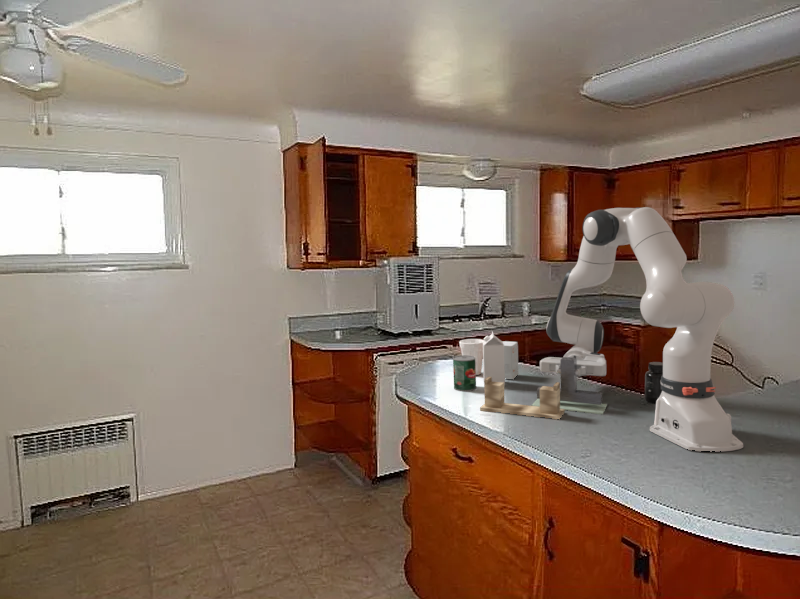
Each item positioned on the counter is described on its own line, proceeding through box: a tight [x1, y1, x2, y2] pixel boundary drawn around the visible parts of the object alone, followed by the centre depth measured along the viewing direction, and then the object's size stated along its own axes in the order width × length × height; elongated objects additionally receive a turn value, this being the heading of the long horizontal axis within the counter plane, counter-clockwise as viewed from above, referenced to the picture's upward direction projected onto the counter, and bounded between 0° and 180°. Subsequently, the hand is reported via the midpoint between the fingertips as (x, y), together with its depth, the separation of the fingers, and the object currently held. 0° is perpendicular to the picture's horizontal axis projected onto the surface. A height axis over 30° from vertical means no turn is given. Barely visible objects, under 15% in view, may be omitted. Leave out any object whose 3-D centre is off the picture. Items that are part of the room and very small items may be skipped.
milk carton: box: [482, 330, 506, 387], centre depth 197 cm, size 7×7×19 cm
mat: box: [530, 399, 608, 415], centre depth 169 cm, size 21×9×1 cm, turn 62°
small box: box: [501, 340, 519, 380], centre depth 206 cm, size 8×6×13 cm
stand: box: [479, 377, 566, 421], centre depth 165 cm, size 24×7×10 cm, turn 62°
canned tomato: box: [452, 355, 477, 392], centre depth 194 cm, size 8×8×11 cm
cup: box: [458, 338, 484, 376], centre depth 213 cm, size 10×10×13 cm
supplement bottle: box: [644, 361, 663, 405], centre depth 169 cm, size 7×7×12 cm
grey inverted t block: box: [536, 356, 603, 405], centre depth 168 cm, size 19×4×13 cm, turn 62°
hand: (568, 372), depth 167 cm, fingers closed on grey inverted t block, 4 cm apart
